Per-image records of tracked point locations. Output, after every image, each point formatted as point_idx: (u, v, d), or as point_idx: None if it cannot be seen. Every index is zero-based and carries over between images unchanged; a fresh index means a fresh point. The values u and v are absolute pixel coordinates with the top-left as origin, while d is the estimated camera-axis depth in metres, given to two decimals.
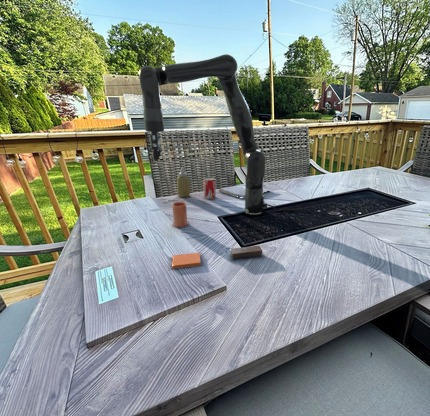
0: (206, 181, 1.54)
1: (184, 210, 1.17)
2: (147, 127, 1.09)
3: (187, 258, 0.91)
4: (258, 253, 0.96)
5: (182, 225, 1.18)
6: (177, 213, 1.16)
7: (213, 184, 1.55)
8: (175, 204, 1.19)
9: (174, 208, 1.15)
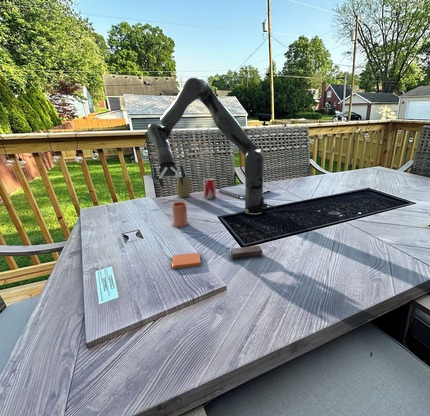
0: (206, 181, 1.54)
1: (184, 210, 1.17)
2: None
3: (187, 258, 0.91)
4: (258, 253, 0.96)
5: (182, 225, 1.18)
6: (177, 213, 1.16)
7: (213, 184, 1.55)
8: (175, 204, 1.19)
9: (174, 208, 1.15)
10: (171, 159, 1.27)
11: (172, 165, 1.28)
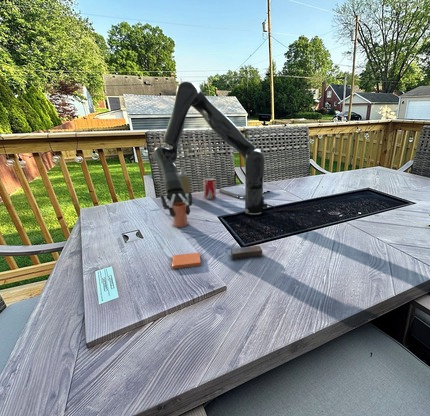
0: (206, 181, 1.54)
1: (184, 210, 1.17)
2: None
3: (187, 258, 0.91)
4: (258, 253, 0.96)
5: (182, 225, 1.18)
6: (177, 213, 1.16)
7: (213, 184, 1.55)
8: (175, 204, 1.19)
9: (174, 208, 1.15)
10: (179, 185, 1.20)
11: (180, 191, 1.21)
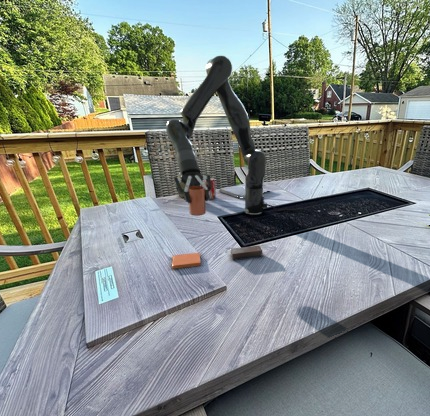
0: None
1: (202, 195, 0.97)
2: None
3: (187, 258, 0.91)
4: (258, 253, 0.96)
5: (199, 213, 0.98)
6: (194, 199, 0.95)
7: (213, 184, 1.55)
8: (191, 188, 0.98)
9: (190, 192, 0.95)
10: (196, 165, 1.00)
11: (197, 173, 1.01)
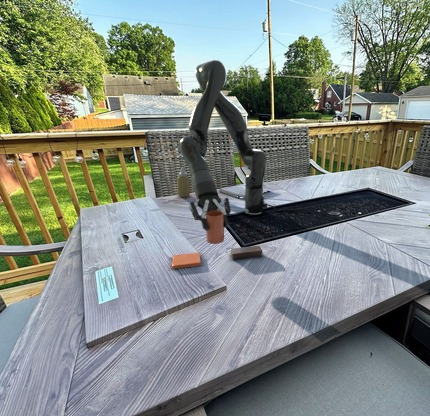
0: None
1: (221, 221, 0.87)
2: None
3: (187, 258, 0.91)
4: (258, 253, 0.96)
5: (218, 241, 0.89)
6: (213, 226, 0.86)
7: None
8: (209, 213, 0.89)
9: (209, 219, 0.86)
10: (213, 188, 0.91)
11: (214, 196, 0.92)
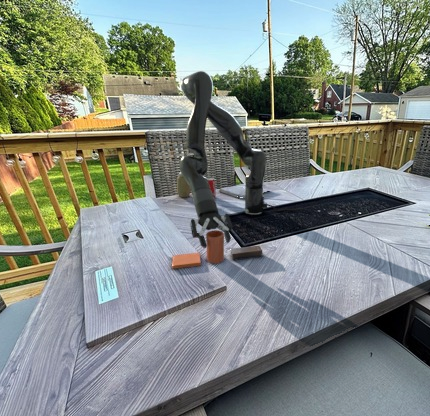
0: None
1: (221, 242, 0.90)
2: None
3: (187, 258, 0.91)
4: (258, 253, 0.96)
5: (218, 261, 0.91)
6: (213, 246, 0.89)
7: (213, 184, 1.55)
8: (209, 233, 0.92)
9: (209, 240, 0.88)
10: (214, 206, 0.93)
11: (215, 214, 0.94)
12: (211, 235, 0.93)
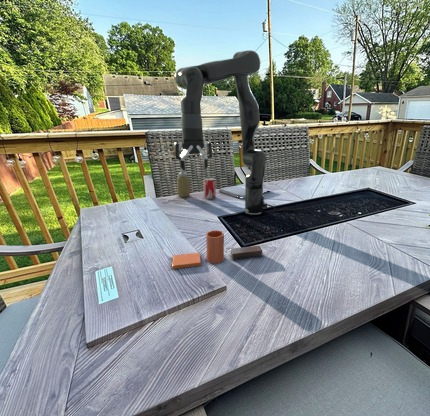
0: (206, 181, 1.54)
1: (221, 242, 0.90)
2: None
3: (187, 258, 0.91)
4: (258, 253, 0.96)
5: (218, 261, 0.91)
6: (213, 246, 0.89)
7: (213, 184, 1.55)
8: (209, 233, 0.92)
9: (209, 240, 0.88)
10: (200, 136, 0.98)
11: (199, 141, 1.00)
12: (211, 235, 0.93)
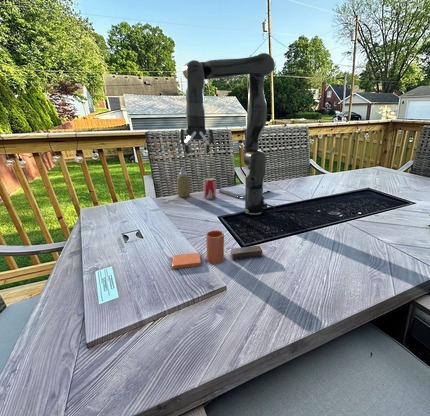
0: (206, 181, 1.54)
1: (221, 242, 0.90)
2: None
3: (187, 258, 0.91)
4: (258, 253, 0.96)
5: (218, 261, 0.91)
6: (213, 246, 0.89)
7: (213, 184, 1.55)
8: (209, 233, 0.92)
9: (209, 240, 0.88)
10: (202, 123, 1.10)
11: (201, 128, 1.12)
12: (211, 235, 0.93)
